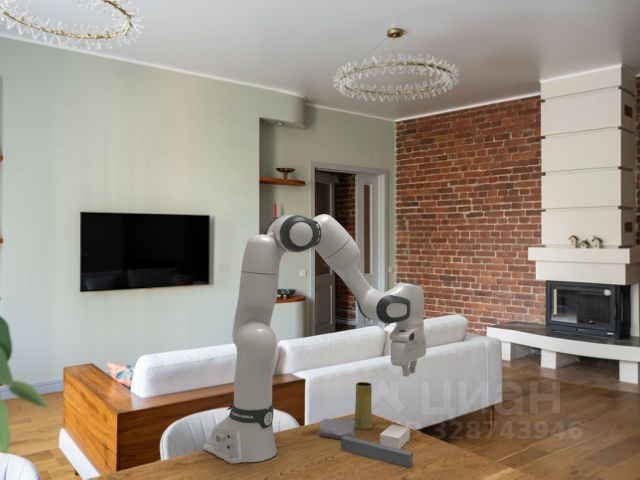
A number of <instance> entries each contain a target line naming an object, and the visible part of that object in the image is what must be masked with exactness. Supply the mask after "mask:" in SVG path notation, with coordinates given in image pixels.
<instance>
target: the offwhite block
mask: <svg viewBox="0 0 640 480" xmlns="http://www.w3.org/2000/svg"><path fill="white" fill-rule="evenodd" d="M410 430H411V428H410V427H407V426H402V425H398V424H391V425H389V426H388V427H387V428H385V429H384V430H383V431H382V432H381V433H380V434H379V444H381V445H385V446H389V447H393V448H397V449H402V448H403V447H402V446H403V445H404V444H405V443H406V442H407V441H408V442H409V441H410V439H411V437H410V435H411V434H410V433H411V432H410ZM408 442H407V443H408ZM407 443H406V444H407ZM406 444H405V445H406ZM405 445H404V446H405ZM401 447H402V448H401Z"/></svg>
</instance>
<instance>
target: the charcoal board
mask: <svg viewBox="0 0 640 480" xmlns="http://www.w3.org/2000/svg"><path fill="white" fill-rule="evenodd" d="M340 450H341V451H344V452H347V453H352V454H355V455H359V456H364V457H367V458H369V459H374V460H377V461H378V460H379V461H381V462H386V463H389V464H393V465H397V466H401V467H404V468H408V469H410V468H411V467H412V466H413V465H414V463H413V460H414V459H413V458H414V457H413V456H414V455H413V452H412V451H409V450H404V449H402V448H401V449H397V448H393V447H389V446H385V445H381V444H380V443H377V442H372V441H369V440H365V439H361V438H357V437H354V438H353V437H349V436H343V437H342V438H341V439H340Z"/></svg>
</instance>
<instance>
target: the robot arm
mask: <svg viewBox="0 0 640 480" xmlns="http://www.w3.org/2000/svg"><path fill="white" fill-rule="evenodd" d="M311 248H313V250H315V251H316V252H317V253H318V254H319V256H320V257H321V258H322V260H323V261H324V262H325V263H326V264H327V266H328V267H329V268H330V269H332V270H333V271H334V272H335V273H336V275H338V276H339V277H340V278H339V279H341V281H342V282H343V283H344V284H345V286H346V287H347V289H348V290H349V292H350V293H351V294H352V296H353V297H354V298H355V299H354V300H356V305H357V308H358V311H359V313H360V314H361V315H362V317H364V318H365V319H367V320H372V321H376V322H380V323H383V324H395V326H394V329H393V330H392V331H391V332H390V333H389V340H390V341H391V342H390V362H391V364H392V366H397V367H401V369H402V376H403V377H405V378H406V377H409V376H411V374H416V367H417V365H418V359H420V358H422V357H424V356H426V354H427V340H426V335H425V334H424V333H425V329H424V328H425V326H424V325H425V323H424V318H423V315H424V311H425V296H424V289H423V287H422V286H421V285H420V284H418V283H415V282H408V281H400V282H399V283H398V284H397V285H395V286H394V287H392V288H390V289H388V290H387V291H382V290H379V289H376V288H374V287H373V286H371V285H370V284H369V282H368V281H367V280H366V278H365V277H364V275H363V274H362V272H361V271H360V269H359V268H358V264H359V263H360V261H361V255H362V253H361V250H360V248H359V246H358V245H357V243H356V241H355V240H354V238H353V237H352V236H351V235H350V233H349V232H348V231H347V229H345V228H344V227H343V226H342V224H340V223H339V222H338V221H337V220H336V218H334V217H332V216H331V215H329V214H327V213H326V214H325V213H324V214H319V215H316V216H315V217H313V218H312V219H311V218H309V217H306V216H304V215H297V214H285V215H279V216H278V217H275V218H274V219H273V220H272V221H271V222H270V224H269V225H268V227H267V228H266V230H265V231H264V233H263V234H256V235H253V236H251V237H249V239H248V240H247V241H246V245H245V249H244V252H243V257H242V260H241V261H242V262H241V270H240V279H239V290H238V291H239V292H238V299H237V304H236V310H235V315H234V322H233V327H232V333H231V334H232V336H231V337H232V341H233V344H234V345H235V348H236V361H235V362H236V364H235V372H234V377H233V383H234V384H233V403H232V404H230V405H227V406H226V411H229V414H228V416H226V417H225V418H224V419H222V420H221V421H219V422H218V423H217V424H216V425H215V426H214V427H213V429H212V431H211V438H210V439H209V440H207V441H206V442H205V443H204V444H203V446H202V451H205V450H208V451H209V452H211V453H213V454H215V455H217V456H218V457H217V456H216V457H217V458H219V457H220V458H219V459H221V458H222V459H221V460H223V459H224V460H223V461H225V462H227V463H229V464H232V465H233V464H240V463H257V462H263V461H265V460H269V459H271V458H273V457H275V456H276V455H277V453H278V449H277V446H276V442H275V436H274V434H275V433H274V427H273V421H274V403H273V374H274V367H275V360H276V350H277V343H278V341H277V337H276V334H275V332H274V330H273V328H271V324H272V323H271V322H272V318H273V317H272V316H273V313H274V310H275V309H274V308H275V305H276V303H277V297H278V287H279V276H280V275H279V274H280V264H281V260H282V258H283V256H284V254H285V253H301V252H302V253H303V252H305V251H307V250H310V249H311ZM209 452H208V453H209ZM211 453H210V454H211ZM213 454H212V455H213ZM215 455H214V456H215Z"/></svg>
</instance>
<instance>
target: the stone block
mask: <svg viewBox="0 0 640 480" xmlns="http://www.w3.org/2000/svg"><path fill="white" fill-rule="evenodd" d="M318 435H319V437H322V438H323V437H325V438H330V439H335V440H336V439H337V440H341V438H342V437H343V436H349V437H353V438H356V422H355V419H352V418H347V417H346V418H340V419H335V420H334V419H329V418H326V417H325V418H323V419H322V420H320V423H319V429H318Z"/></svg>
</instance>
